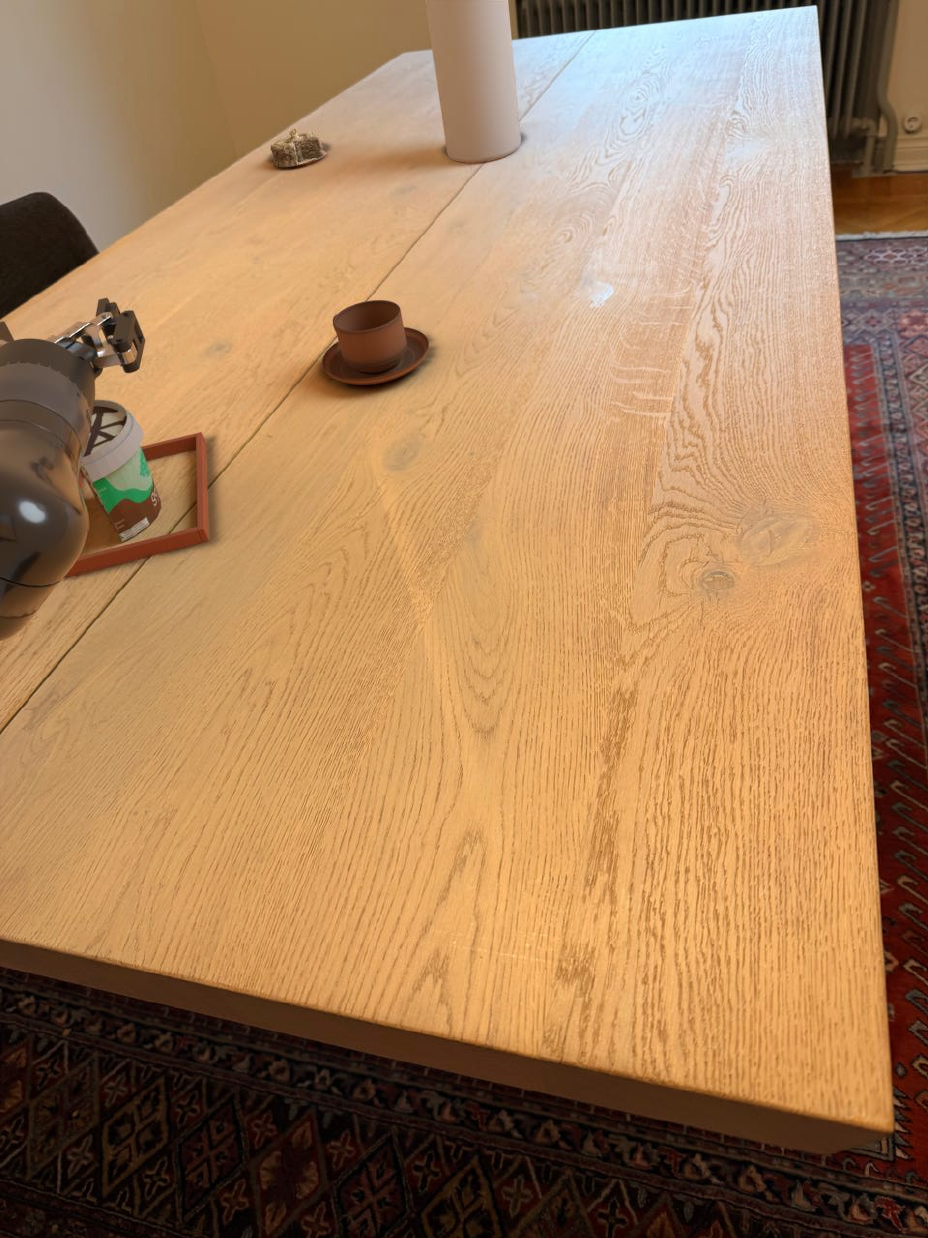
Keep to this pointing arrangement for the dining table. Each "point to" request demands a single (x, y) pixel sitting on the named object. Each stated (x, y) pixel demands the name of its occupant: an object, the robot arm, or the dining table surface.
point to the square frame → (165, 541)
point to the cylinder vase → (475, 77)
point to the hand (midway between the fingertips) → (57, 320)
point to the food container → (120, 470)
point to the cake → (297, 149)
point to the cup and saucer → (373, 344)
